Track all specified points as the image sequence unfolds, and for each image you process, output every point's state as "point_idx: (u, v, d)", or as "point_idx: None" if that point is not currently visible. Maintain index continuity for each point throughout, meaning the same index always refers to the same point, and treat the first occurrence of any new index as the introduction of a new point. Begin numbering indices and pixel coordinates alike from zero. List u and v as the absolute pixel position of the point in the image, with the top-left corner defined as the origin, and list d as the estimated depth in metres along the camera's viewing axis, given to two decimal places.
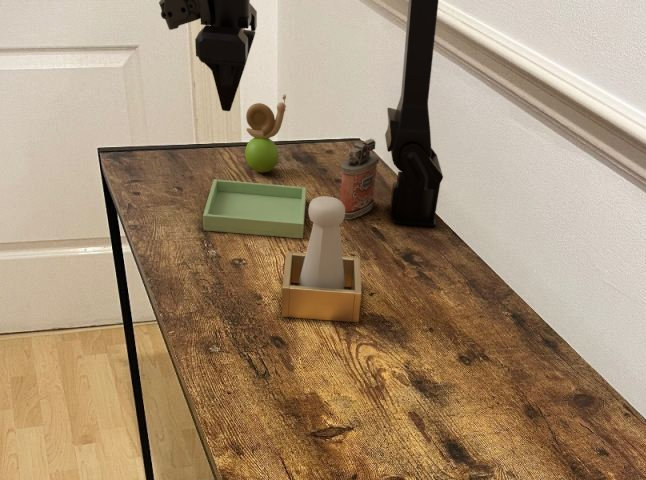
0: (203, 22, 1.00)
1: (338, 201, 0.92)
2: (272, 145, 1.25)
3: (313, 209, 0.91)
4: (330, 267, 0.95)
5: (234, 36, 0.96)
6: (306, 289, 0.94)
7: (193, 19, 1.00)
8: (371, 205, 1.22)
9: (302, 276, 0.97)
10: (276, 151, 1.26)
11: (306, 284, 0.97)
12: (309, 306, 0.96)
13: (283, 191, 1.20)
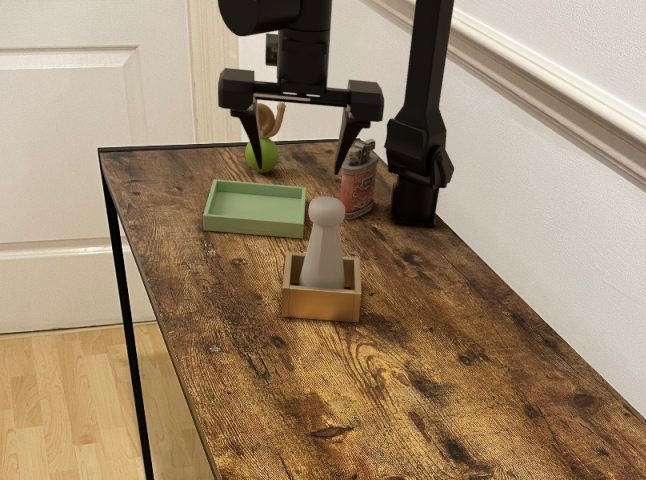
0: None
1: (338, 201, 0.92)
2: (272, 145, 1.25)
3: (313, 209, 0.91)
4: (330, 267, 0.95)
5: (222, 78, 0.86)
6: (306, 289, 0.94)
7: None
8: (371, 205, 1.22)
9: (302, 276, 0.97)
10: (276, 151, 1.26)
11: (306, 284, 0.97)
12: (309, 306, 0.96)
13: (283, 191, 1.20)
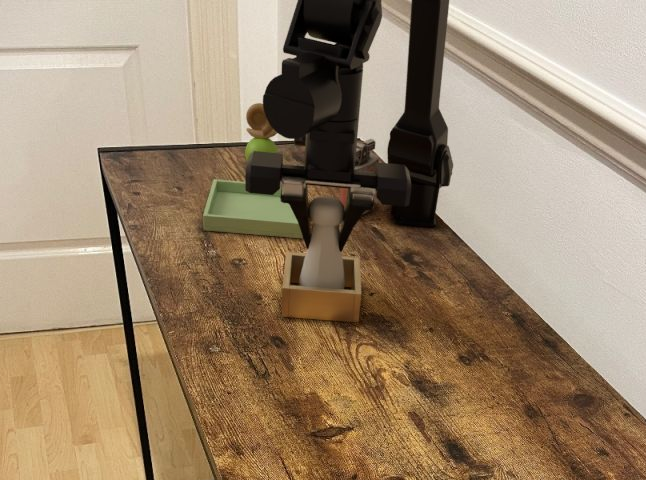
0: None
1: (338, 201, 0.92)
2: (272, 145, 1.25)
3: (313, 209, 0.91)
4: (330, 267, 0.95)
5: (249, 164, 0.87)
6: (306, 289, 0.94)
7: None
8: None
9: (302, 276, 0.97)
10: (276, 151, 1.26)
11: (306, 284, 0.97)
12: (309, 306, 0.96)
13: None
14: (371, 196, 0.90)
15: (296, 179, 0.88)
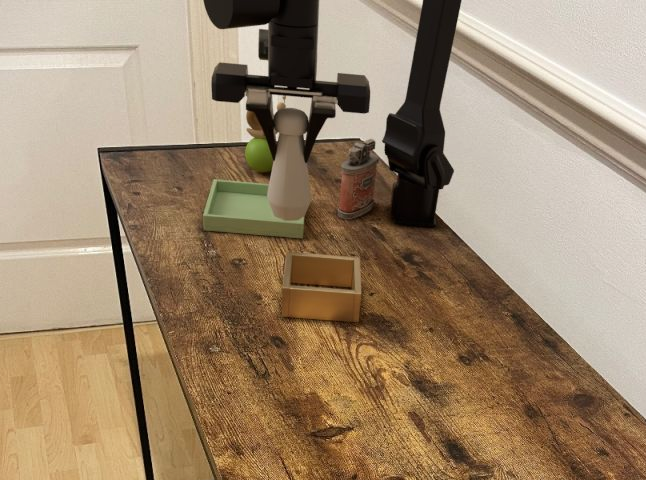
0: None
1: (301, 111, 0.96)
2: None
3: (278, 119, 0.95)
4: (296, 178, 0.99)
5: (215, 73, 0.91)
6: (306, 289, 0.94)
7: None
8: (371, 205, 1.22)
9: (270, 188, 1.01)
10: None
11: (273, 196, 1.01)
12: (309, 306, 0.96)
13: None
14: (332, 104, 0.94)
15: (260, 87, 0.92)
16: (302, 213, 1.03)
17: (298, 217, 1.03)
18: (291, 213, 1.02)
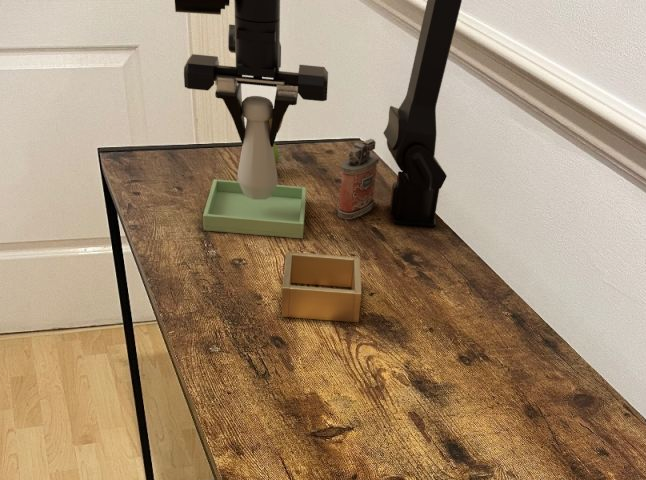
0: None
1: (267, 99, 1.06)
2: None
3: (245, 106, 1.05)
4: (263, 160, 1.09)
5: (187, 63, 1.01)
6: (306, 289, 0.94)
7: None
8: (371, 205, 1.22)
9: (239, 169, 1.11)
10: (276, 151, 1.26)
11: (242, 176, 1.11)
12: (309, 306, 0.96)
13: (283, 191, 1.20)
14: (294, 93, 1.04)
15: (228, 77, 1.02)
16: (269, 193, 1.13)
17: (265, 196, 1.13)
18: (259, 193, 1.12)
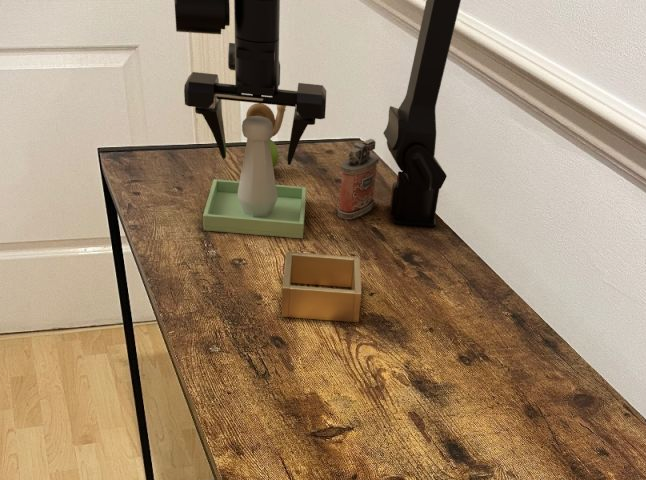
0: None
1: (267, 119, 1.08)
2: (272, 145, 1.25)
3: (245, 126, 1.07)
4: (262, 178, 1.11)
5: (187, 81, 1.02)
6: (306, 289, 0.94)
7: None
8: (371, 205, 1.22)
9: (239, 187, 1.13)
10: (276, 151, 1.26)
11: (242, 194, 1.12)
12: (309, 306, 0.96)
13: (283, 191, 1.20)
14: None
15: None
16: (269, 210, 1.15)
17: (265, 214, 1.15)
18: (259, 210, 1.14)
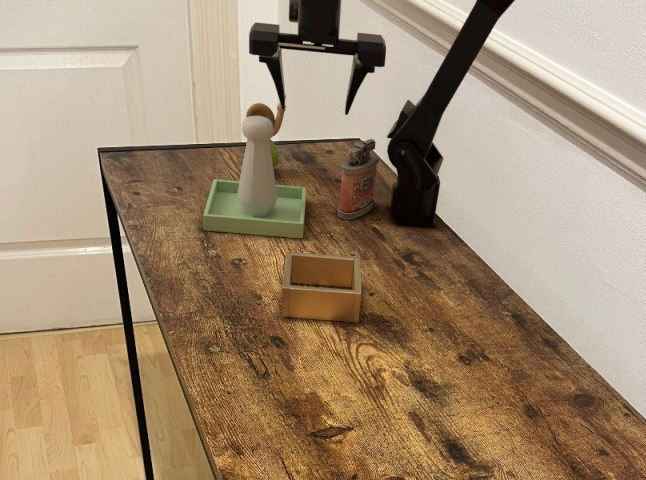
0: None
1: (267, 119, 1.08)
2: (272, 145, 1.25)
3: (245, 126, 1.07)
4: (262, 178, 1.11)
5: (252, 30, 1.05)
6: (306, 289, 0.94)
7: None
8: (371, 205, 1.22)
9: (239, 187, 1.13)
10: (276, 151, 1.26)
11: (242, 194, 1.12)
12: (309, 306, 0.96)
13: (283, 191, 1.20)
14: None
15: None
16: (269, 210, 1.15)
17: (265, 214, 1.15)
18: (259, 210, 1.14)
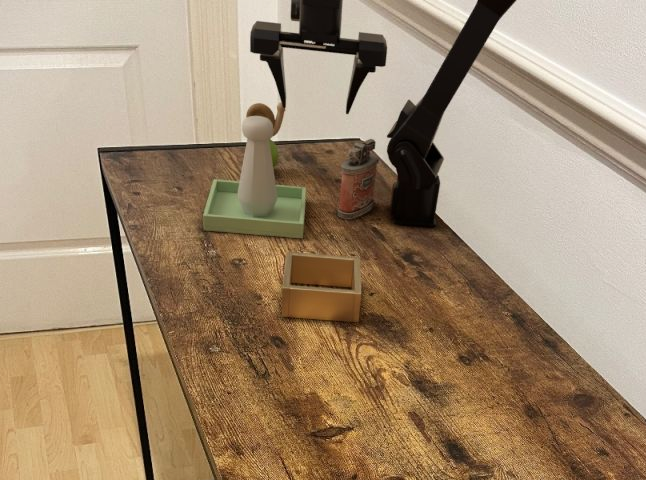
0: None
1: (267, 119, 1.08)
2: (272, 145, 1.25)
3: (245, 126, 1.07)
4: (262, 178, 1.11)
5: (253, 28, 1.05)
6: (306, 289, 0.94)
7: None
8: (371, 205, 1.22)
9: (239, 187, 1.13)
10: (276, 151, 1.26)
11: (242, 194, 1.12)
12: (309, 306, 0.96)
13: (283, 191, 1.20)
14: None
15: None
16: (269, 210, 1.15)
17: (265, 214, 1.15)
18: (259, 210, 1.14)
